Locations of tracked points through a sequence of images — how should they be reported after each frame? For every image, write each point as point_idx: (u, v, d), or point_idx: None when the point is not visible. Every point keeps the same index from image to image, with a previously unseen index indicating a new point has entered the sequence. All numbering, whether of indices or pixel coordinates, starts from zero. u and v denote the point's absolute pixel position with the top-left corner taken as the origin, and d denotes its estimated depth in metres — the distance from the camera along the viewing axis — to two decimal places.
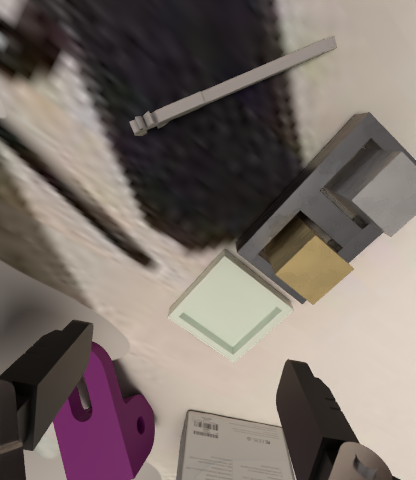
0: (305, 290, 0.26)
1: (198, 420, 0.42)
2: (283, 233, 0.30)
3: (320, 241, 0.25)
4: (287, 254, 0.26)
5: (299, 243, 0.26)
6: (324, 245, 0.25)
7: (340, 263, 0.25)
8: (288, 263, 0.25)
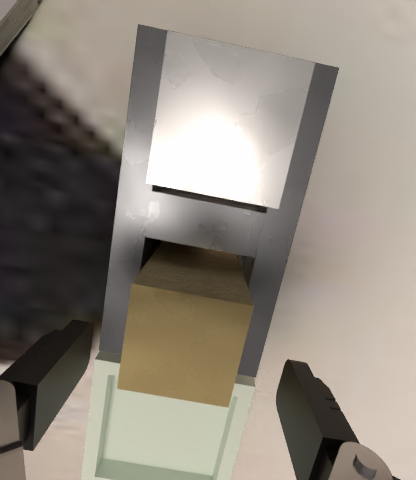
0: (194, 390, 0.12)
1: None
2: None
3: (150, 289, 0.11)
4: None
5: None
6: (163, 292, 0.11)
7: (219, 309, 0.11)
8: (125, 358, 0.12)
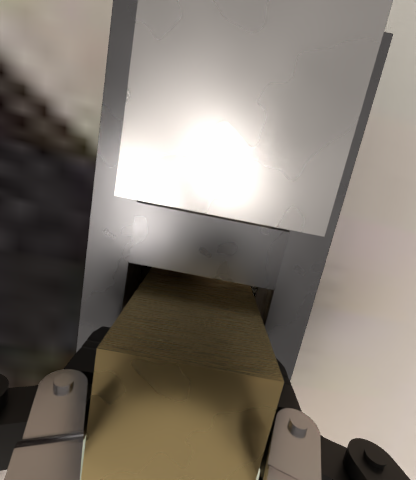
0: None
1: None
2: None
3: (125, 357, 0.07)
4: None
5: None
6: (145, 361, 0.07)
7: (230, 385, 0.07)
8: (90, 454, 0.08)
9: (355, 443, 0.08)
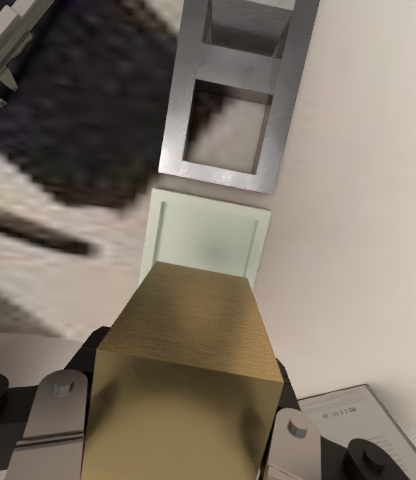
0: None
1: None
2: None
3: (125, 357, 0.07)
4: None
5: None
6: (145, 362, 0.07)
7: (230, 386, 0.07)
8: (90, 455, 0.08)
9: (355, 443, 0.08)
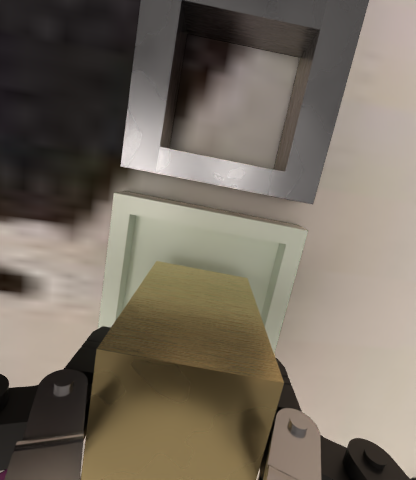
0: None
1: None
2: None
3: (125, 357, 0.07)
4: None
5: None
6: (145, 362, 0.07)
7: (230, 386, 0.07)
8: (90, 455, 0.08)
9: (355, 443, 0.08)
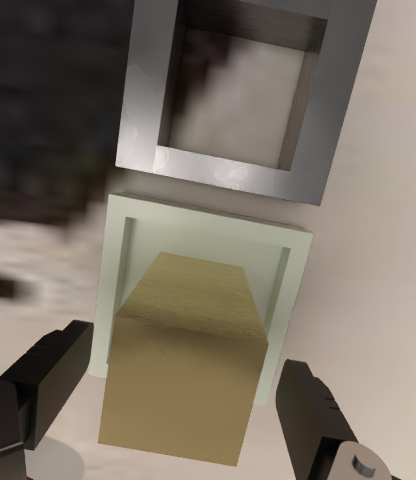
0: (193, 445, 0.10)
1: None
2: None
3: (138, 323, 0.09)
4: None
5: None
6: (154, 327, 0.09)
7: (224, 347, 0.09)
8: (108, 407, 0.10)
9: None
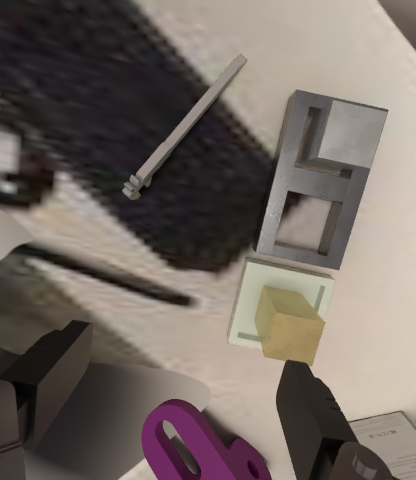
0: (297, 358, 0.29)
1: None
2: (262, 310, 0.34)
3: (283, 315, 0.28)
4: (267, 333, 0.30)
5: (270, 321, 0.29)
6: (288, 316, 0.28)
7: (310, 323, 0.28)
8: (270, 343, 0.29)
9: None
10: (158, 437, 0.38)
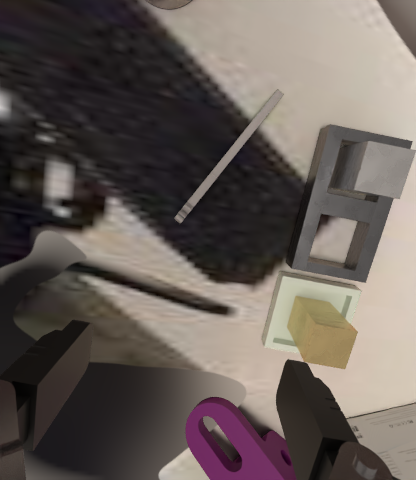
0: (333, 362, 0.33)
1: None
2: (296, 318, 0.38)
3: (321, 326, 0.32)
4: (305, 341, 0.34)
5: (309, 331, 0.34)
6: (326, 327, 0.32)
7: (345, 332, 0.32)
8: (309, 350, 0.33)
9: None
10: (200, 430, 0.43)
